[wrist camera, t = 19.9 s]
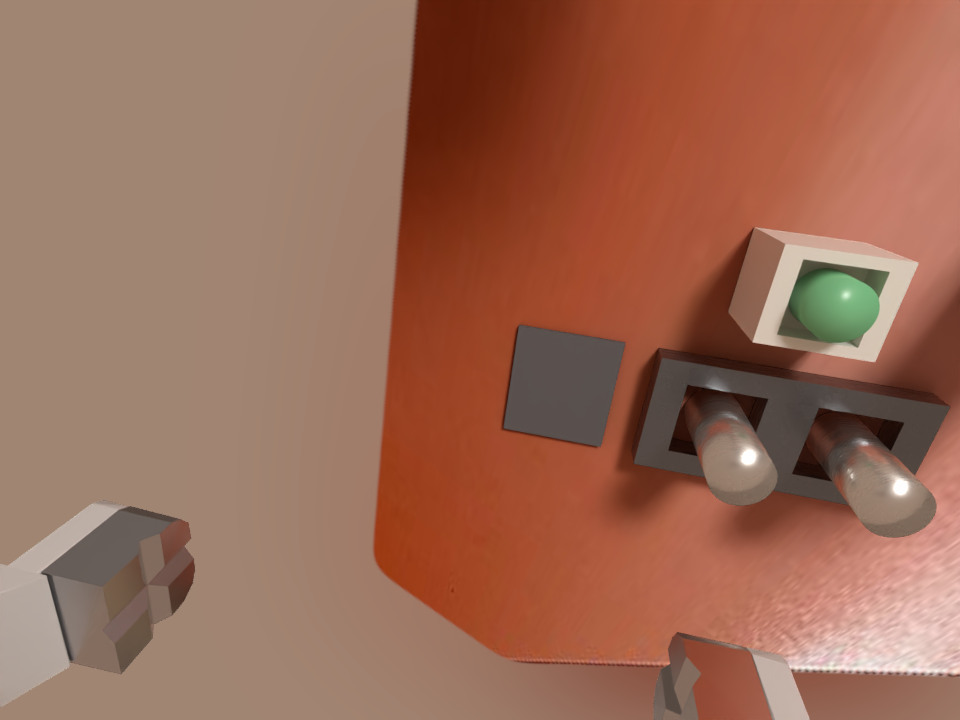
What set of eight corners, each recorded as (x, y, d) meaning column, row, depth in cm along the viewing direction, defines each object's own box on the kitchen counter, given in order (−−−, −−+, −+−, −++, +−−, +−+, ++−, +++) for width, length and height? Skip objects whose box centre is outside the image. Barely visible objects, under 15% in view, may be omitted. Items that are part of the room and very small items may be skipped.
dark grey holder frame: (658, 347, 41) (662, 357, 39) (933, 393, 38) (950, 406, 36) (631, 450, 44) (633, 463, 42) (881, 497, 42) (894, 514, 40)
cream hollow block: (754, 227, 36) (785, 243, 31) (865, 242, 36) (918, 262, 30) (727, 312, 39) (752, 342, 33) (831, 328, 38) (874, 362, 32)
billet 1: (691, 383, 41) (717, 444, 33) (746, 392, 41) (786, 457, 32) (677, 428, 43) (699, 498, 35) (730, 438, 42) (765, 511, 34)
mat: (519, 324, 42) (518, 326, 41) (624, 342, 41) (625, 344, 40) (504, 426, 45) (503, 428, 45) (600, 444, 44) (600, 446, 44)
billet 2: (815, 406, 40) (875, 476, 32) (873, 416, 40) (948, 489, 31) (797, 452, 42) (849, 530, 34) (852, 462, 41) (918, 543, 33)
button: (800, 263, 32) (820, 275, 30) (864, 273, 32) (890, 285, 29) (780, 320, 34) (797, 337, 31) (841, 330, 33) (864, 347, 31)
